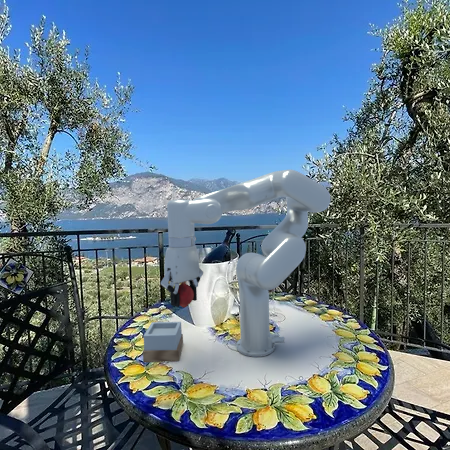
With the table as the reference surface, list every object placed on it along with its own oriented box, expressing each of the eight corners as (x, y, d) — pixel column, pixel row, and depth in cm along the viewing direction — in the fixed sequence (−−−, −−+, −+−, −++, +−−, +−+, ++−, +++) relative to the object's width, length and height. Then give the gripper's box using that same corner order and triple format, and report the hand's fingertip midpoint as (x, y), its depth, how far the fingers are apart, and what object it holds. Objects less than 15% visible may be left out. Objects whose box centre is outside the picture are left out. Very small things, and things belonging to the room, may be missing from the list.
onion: (191, 311, 88) (190, 284, 87) (171, 310, 89) (170, 283, 88) (196, 304, 94) (195, 278, 93) (178, 303, 95) (176, 278, 94)
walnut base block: (183, 345, 107) (182, 334, 106) (179, 362, 96) (178, 350, 95) (151, 346, 107) (150, 335, 106) (143, 363, 96) (142, 351, 95)
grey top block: (181, 335, 105) (181, 321, 105) (176, 349, 96) (175, 335, 95) (152, 335, 106) (151, 322, 105) (144, 350, 96) (143, 335, 95)
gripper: (194, 237, 98) (196, 292, 100) (149, 245, 85) (152, 308, 87) (211, 239, 93) (213, 297, 95) (165, 247, 80) (168, 314, 82)
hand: (184, 302), depth 91 cm, fingers closed on onion, 5 cm apart
